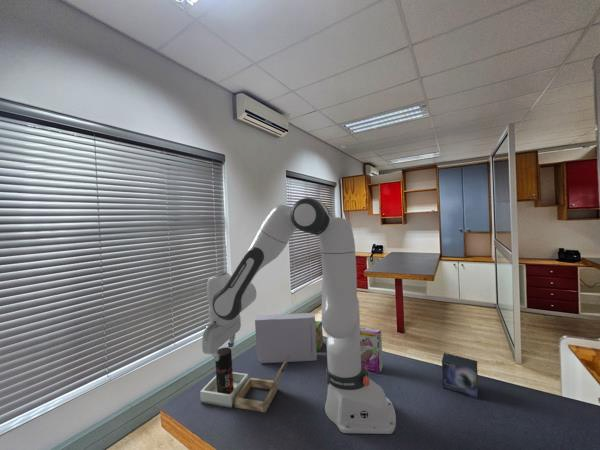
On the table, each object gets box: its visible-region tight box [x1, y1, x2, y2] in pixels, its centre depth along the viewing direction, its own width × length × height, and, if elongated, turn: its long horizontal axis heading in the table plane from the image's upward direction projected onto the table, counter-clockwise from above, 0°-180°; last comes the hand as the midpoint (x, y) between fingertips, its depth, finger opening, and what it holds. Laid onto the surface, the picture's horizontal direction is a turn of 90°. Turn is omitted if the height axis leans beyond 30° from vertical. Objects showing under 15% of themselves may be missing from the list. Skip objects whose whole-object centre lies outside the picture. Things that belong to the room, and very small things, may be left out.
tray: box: [199, 371, 249, 409], centre depth 93 cm, size 13×13×4 cm
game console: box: [254, 312, 318, 364], centre depth 113 cm, size 6×27×20 cm, turn 89°
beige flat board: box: [265, 355, 289, 404], centre depth 87 cm, size 12×12×1 cm
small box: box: [441, 352, 479, 400], centre depth 88 cm, size 11×6×10 cm, turn 53°
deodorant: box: [214, 346, 234, 394], centre depth 93 cm, size 6×6×15 cm
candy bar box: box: [360, 325, 384, 374], centre depth 104 cm, size 11×5×16 cm, turn 58°
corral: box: [234, 377, 279, 413], centre depth 89 cm, size 12×12×3 cm
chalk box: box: [315, 320, 324, 352], centre depth 123 cm, size 9×9×15 cm
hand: (224, 352), depth 92 cm, fingers open, 8 cm apart
